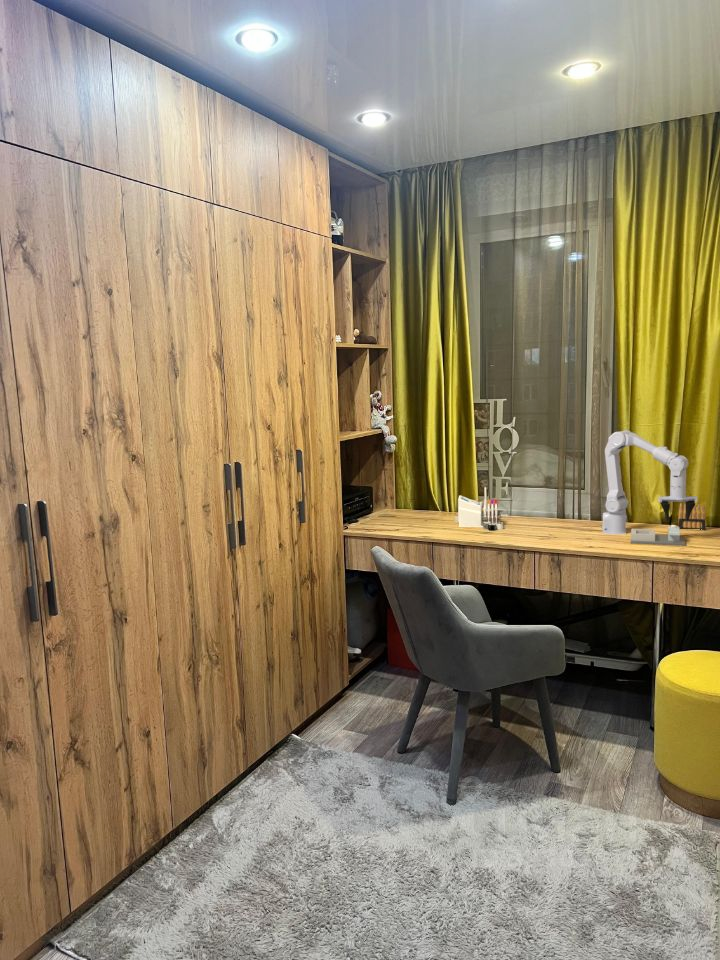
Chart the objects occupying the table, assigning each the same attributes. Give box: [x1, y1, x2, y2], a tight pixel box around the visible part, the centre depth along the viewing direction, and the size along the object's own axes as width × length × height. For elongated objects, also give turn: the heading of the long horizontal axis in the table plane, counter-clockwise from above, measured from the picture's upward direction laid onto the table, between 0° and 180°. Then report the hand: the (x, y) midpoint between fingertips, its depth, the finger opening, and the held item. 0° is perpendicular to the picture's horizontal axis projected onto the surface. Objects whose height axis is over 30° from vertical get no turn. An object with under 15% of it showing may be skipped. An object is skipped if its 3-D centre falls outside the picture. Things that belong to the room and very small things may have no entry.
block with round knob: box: [667, 524, 681, 541], centre depth 277 cm, size 4×10×5 cm, turn 158°
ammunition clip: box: [677, 502, 707, 531], centre depth 296 cm, size 11×2×12 cm, turn 69°
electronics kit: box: [454, 486, 509, 532], centre depth 330 cm, size 45×26×16 cm, turn 169°
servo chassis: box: [630, 528, 686, 547], centre depth 280 cm, size 20×16×4 cm
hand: (677, 519), depth 279 cm, fingers open, 7 cm apart
